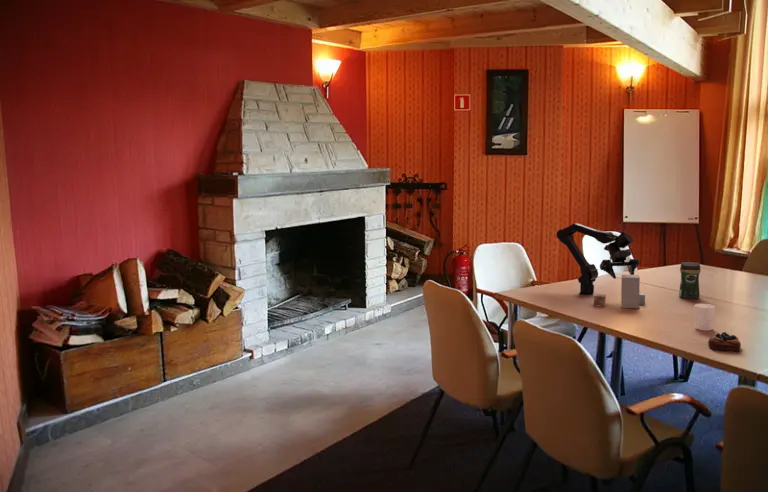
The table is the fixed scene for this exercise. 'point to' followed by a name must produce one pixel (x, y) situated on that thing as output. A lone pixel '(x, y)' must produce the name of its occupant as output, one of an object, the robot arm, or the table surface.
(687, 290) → the coffee jar
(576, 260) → the robot arm
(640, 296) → the slate-grey block
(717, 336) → the pastry
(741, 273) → the table surface
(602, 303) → the walnut block
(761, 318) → the table surface
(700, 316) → the white cup
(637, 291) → the skincare box
